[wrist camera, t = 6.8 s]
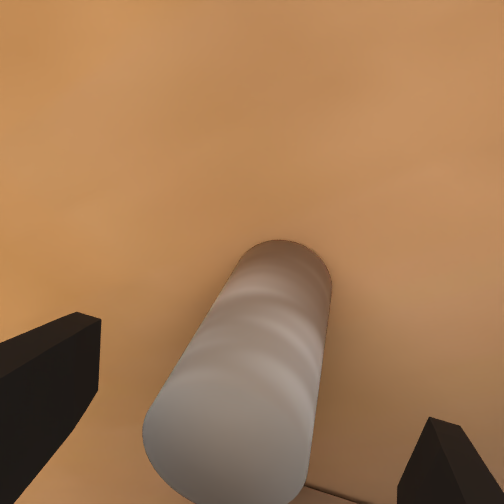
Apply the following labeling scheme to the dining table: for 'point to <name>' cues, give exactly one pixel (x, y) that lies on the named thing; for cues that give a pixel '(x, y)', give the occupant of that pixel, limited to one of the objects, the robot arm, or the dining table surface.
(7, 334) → the dining table surface
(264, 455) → the sliding frame
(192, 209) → the dining table surface
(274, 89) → the dining table surface
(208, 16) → the dining table surface
